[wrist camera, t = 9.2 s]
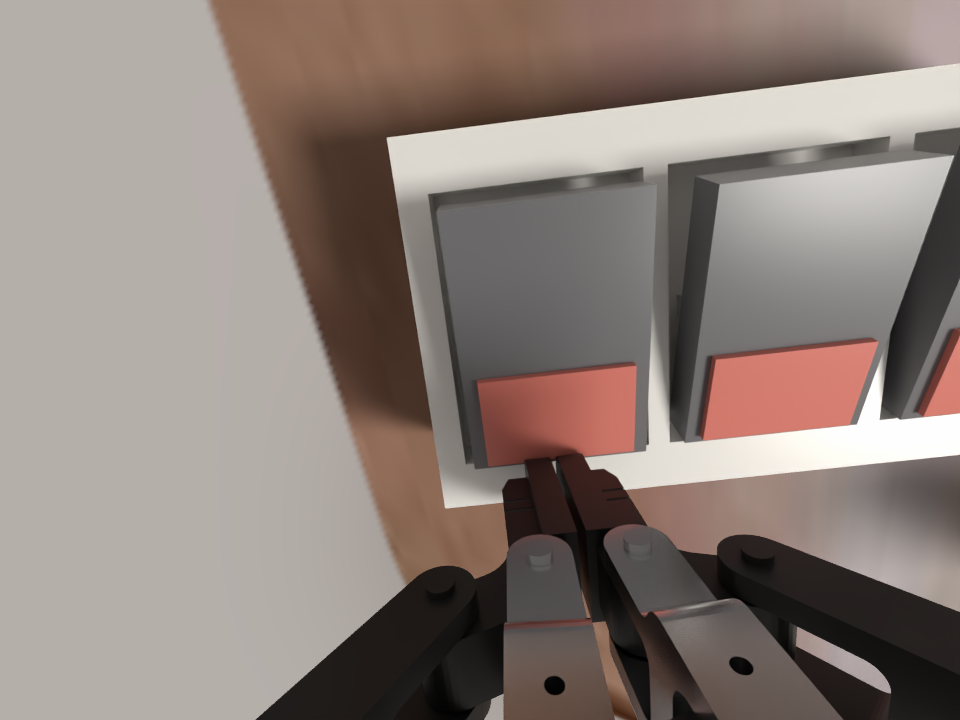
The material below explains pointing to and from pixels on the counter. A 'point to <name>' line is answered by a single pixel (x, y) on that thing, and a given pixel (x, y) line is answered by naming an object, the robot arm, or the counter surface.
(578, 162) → the white switch panel
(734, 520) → the counter surface
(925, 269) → the switch
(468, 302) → the switch
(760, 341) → the switch middle
